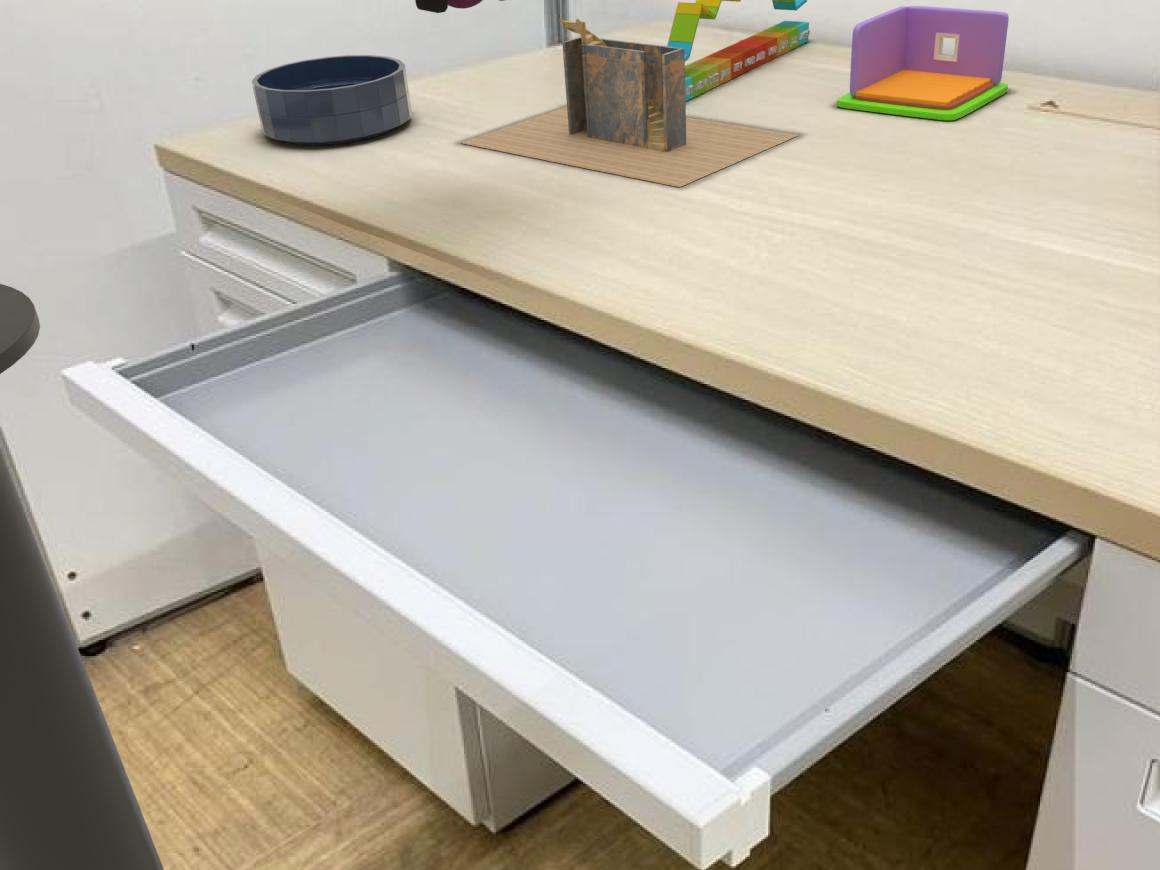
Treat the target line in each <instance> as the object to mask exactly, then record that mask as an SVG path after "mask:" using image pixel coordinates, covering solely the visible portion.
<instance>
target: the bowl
mask: <svg viewBox="0 0 1160 870" xmlns="http://www.w3.org/2000/svg"><path fill="white" fill-rule="evenodd" d="M251 85H252V89H253V94H254V100H255V104H256V108H257V113H258V118H259V122H260V127H261V130H262V132H263V134H264V136H266V137H268V138H270V139H272V140H273V139H274V140H275V141H276V140H277V141H284V142H286V143H290V144H294V145H295V144H296V145H301V146H304V145H305V146H328V145H329V146H330V145H338V144H347V143H353V142H359V141H363V140H367V139H371V138H375V137H378V136H381V135H383V134H386V133H389V132H390V131H392V130H393V129H395V128H397V127H399V126H402V125H403V124H405V123H406V122H407V121H409V120H410V119H411V116H412V114H413V111H412V105H411V104H412V103H411V96H410V91H409V82H408V76H407V69H406V64H405V63H404V62H403V61H402V60H401V59H398V58H394V57H390V56H386V55H385V56H384V55H373V54H347V55H334V56H333V55H332V56H324V57H323V56H322V57H317V58H309V59H303V60H298V61H293V62H289V63H285V64H281V65H278V66H275V67H272V68H268V69H266V70H264V71H262V72H260V73H258V74H256V75H255V76H254V77H253V79H252V80H251Z"/></svg>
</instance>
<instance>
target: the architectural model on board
mask: <svg viewBox="0 0 1160 870" xmlns="http://www.w3.org/2000/svg"><path fill="white" fill-rule="evenodd" d="M558 20H559V23H562V28H563V29H566V30H567V31H570V32H572V33H575V34H578V35H580V36H578V37H575V38H572V39H569V40H565V41H562V56H563V57H562V58H563V68H564V69H563V70H564V71H563V72H564V85H565V98H566V99H565V100H566V106H564V107H562V108H559V109H556V110H553V111H550V112H547V113H545V114H540V115H538V116H536V117H533V118H530V119H526V120H524V121H521V122H518V123H515V124H511V125H509V126H506V127H503V128H501V129H497V130H495V131H492V132H489V133H486V134H483V135H480V136H478V137H475V138H474V137H473V138H471V139H469V140H466V141H462V142H461V144H463V145H468V146H473V147H478V148H483V149H488V150H492V151H498V152H502V153H503V152H504V153H508V154H512V155H517V156H522V157H528V158H533V159H538V160H543V161H548V162H552V163H558V164H562V165H567V166H572V167H578V168H581V169H582V168H583V169H587V170H593V171H597V172H602V173H607V174H612V175H617V176H622V177H627V178H632V179H637V180H642V181H647V182H652V183H656V184H657V183H658V184H662V185H666V186H667V185H668V186H673V187H676V188H677V187H678V188H681V187H683V186H686V185H688V184H690V183H693V182H695V181H697V180H700V179H702V178H704V177H706V176H709V175H711V174H713V173H715V172H718V171H721V170H722V169H724V168H725V169H726V168H727V167H729V166H732V165H734V164H737V163H738V162H741V161H743V160H745V159H747V158H750V157H752V156H755V155H757V154H759V153H761V152H764V151H765V150H769V149H770V148H773V147H776V146H777V145H780V144H782V143H784V142H787V141H789V140H791V139H793V138H796V137H798V136H799V135H798V134H793V133H786V132H780V131H774V130H767V129H762V128H754V127H748V126H741V125H736V124H729V123H723V122H717V121H711V120H705V119H704V120H703V119H699V118H697V119H696V118H691V117H687V106H686V105H687V103H686V102H687V101H686V97H685V66H686V61H685V48H677V47H668V46H667V45H659V44H651V43H643V42H635V41H626V40H617V39H609V38H601V37H598V36H597V35H596V34H594V33H593V32H591V31H590V30H588V29H587V26H586V25H587V24H586V21H581V20H580V19H579V18H575V21H570V20H565V19H563V18H561V17H559V19H558Z"/></svg>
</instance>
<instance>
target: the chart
mask: <svg viewBox="0 0 1160 870" xmlns="http://www.w3.org/2000/svg"><path fill="white" fill-rule="evenodd" d="M741 1H742V0H695V2H680V1H678V2H677V5H676V8H675V13H674V16H673V17H674V18H673V21H672V25H671V28H670V33H669V36H668V41H667V45H666V46H668V47H677V48H685V62H687V61H688V60H689V59H690V57H691V54H692V49H693V46H694V41H695V38H696V33H697V29H698V26H699V22H700V20H715V21H716V18H717V16H718V13H719V9H720V7H721V4H722V2H739V3H740V2H741ZM771 1H772V6H773V9H774V10H776V11H777V10H778V11H795V12H796V11H798V10H799V9H800V8H802V7H803V6H804V5H805V4H806V3H807V2H808V0H771ZM810 33H811V31H810V22H809V21H799V20H798V21H795V20H782V21H781V22H779V23H776V24H774V25H772V26H769V27H768V28H765V29H763V30H762V31H760V32H757V33H755V34H753V35H751V36H748V37H746V38H744V39H742V40H740V41H737V42H735V43H733V44H730V45H727V46H726V47H724V48H722V49H720V50H717V51H715V52H712V53H710V54H709V55H706V56H704V57H701V58H700V59H698V60H697V59H696V60H695V61H692V62H690V63H689V64H687V65H686V64H685V97H686V102H687V101H690V100H691V99H694V98H696V97H697V96H700V95H702V94H704V93H706V92H708V91H710V90H712V89H714V88H716V87H718V86H720V85H723V84H724V83H727V82H728V81H730V80H732V79H735V78H737V77H739V76H740V75H743V74H745V73H747V72H749V71H751V70H753V69H755V68H757V67H759V66H761V65H764V64H765V63H768V62H769V61H772V60H774V59H775V58H778V57H780V56H782V55H784V54H786V53H787V52H789V51H791V50H793V49H796V48H797V47H799V46H801V45H803V44H805V43H807V42H809V36H810Z"/></svg>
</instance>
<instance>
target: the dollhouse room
mask: <svg viewBox="0 0 1160 870" xmlns="http://www.w3.org/2000/svg"><path fill="white" fill-rule="evenodd" d="M1009 21H1010V19H1009V13H1008V12H1004V11H996V10H984V9H982V10H981V9H970V8H969V9H967V8H956V7H955V8H954V7H941V6H928V5H927V6H925V5H924V6H923V5H922V6H921V5H907V6H906V5H903V6H898V7H896V8H893V9H890V10H887V11H885V12H883V13H880V14H878V15H875V16H873V17H870V18H867V19H865V20H863V21H861V22H859V23H857V24H855V26H854V27H853V28H852V29H853V30H852V38H851V51H850V52H851V54H850V55H851V56H850V71H849V72H850V73H849V77H850V78H849V92H848V93H845V94H844V95H842V96H840V97H838V98H837V100H836V106H837V107H838V108H841V109H848V110H856V111H862V112H870V113H872V112H873V113H879V114H886V115H893V116H894V115H895V116H904V117H912V118H920V119H928V120H935V121H947V122H949V121H955V120H958V119H961V118H962V117H965V116H967V115H969V114H970V113H972V112H974V111H976V110H978V109H980V108H982V107H983V106H985V105H986V104H988V103H991V102H992V101H994V100H996V99H998V98H999V97H1001V96H1003V95H1004V94H1006V93H1007V92H1008V90H1009V89H1008V88H1009V84H1008V83H1006V82H1002V79H1003V78H1002V77H1003V71H1004V63H1005V62H1004V61H1005V54H1006V47H1007V36H1008V28H1009ZM944 39H953V40H954V39H955V40H954V50H953V54H952V53H951V54H950V53H943V48H944Z"/></svg>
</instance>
